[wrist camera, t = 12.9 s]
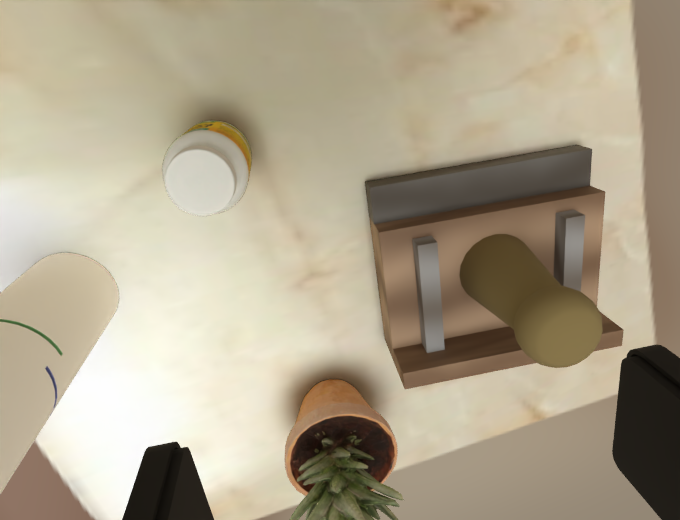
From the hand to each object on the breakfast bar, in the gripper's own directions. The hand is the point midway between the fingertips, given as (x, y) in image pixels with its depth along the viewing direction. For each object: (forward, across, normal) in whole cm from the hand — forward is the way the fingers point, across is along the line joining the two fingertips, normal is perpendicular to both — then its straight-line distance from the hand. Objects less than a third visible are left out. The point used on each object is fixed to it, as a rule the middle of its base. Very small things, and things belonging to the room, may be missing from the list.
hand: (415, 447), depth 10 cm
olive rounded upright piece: (+26, -13, +10) cm, 31 cm away
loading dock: (+30, -13, +9) cm, 34 cm away
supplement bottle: (+31, +7, -2) cm, 31 cm away
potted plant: (+31, +2, +23) cm, 38 cm away
